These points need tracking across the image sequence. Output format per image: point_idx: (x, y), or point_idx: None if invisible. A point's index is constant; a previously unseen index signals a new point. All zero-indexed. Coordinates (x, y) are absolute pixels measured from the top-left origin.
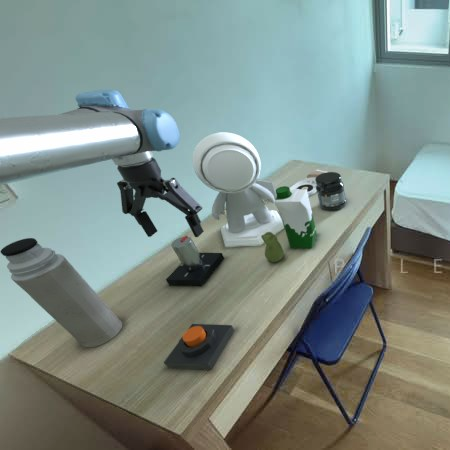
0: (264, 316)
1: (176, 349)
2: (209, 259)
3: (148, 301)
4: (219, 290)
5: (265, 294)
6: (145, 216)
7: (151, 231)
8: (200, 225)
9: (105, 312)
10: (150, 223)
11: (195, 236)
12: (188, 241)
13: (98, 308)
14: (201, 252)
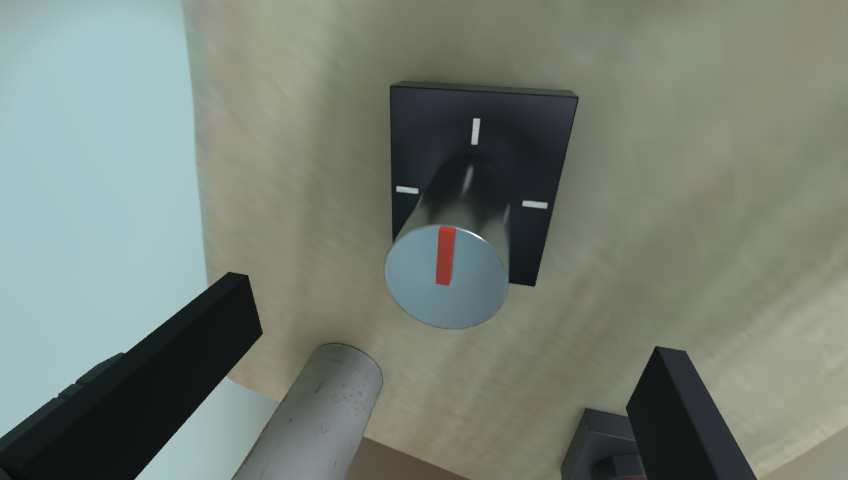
0: (818, 415)
1: (579, 477)
2: (526, 156)
3: (380, 301)
4: (613, 292)
5: (830, 338)
6: (99, 441)
7: (239, 333)
8: (721, 422)
9: (355, 432)
10: (183, 356)
11: (633, 414)
12: (496, 288)
13: (346, 460)
14: (448, 89)
